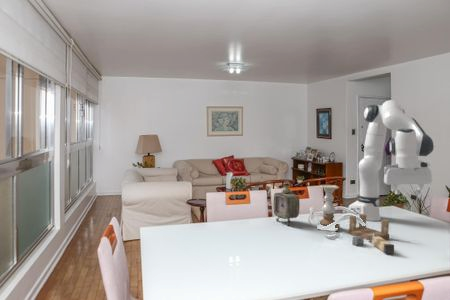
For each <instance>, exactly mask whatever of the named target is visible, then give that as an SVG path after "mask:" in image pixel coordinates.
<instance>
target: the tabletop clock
mask: <svg viewBox="0 0 450 300" xmlns="http://www.w3.org/2000/svg"><path fill="white" fill-rule="evenodd" d="M285 183H288V184H289V186H288V185H285ZM282 185H283V187H284V188H283V189H282V191H281V192H274V195H273V213H274V215H275V216H276V217H277V218H276V219H275V221H277V222H279V221H280V220H279V219H283V220H287V223H286V226H290V223H291V219H297V217H298V216H299V214H300V196H298V195H296V193H293V192H292V191H291V189H290V188H291V183H290V181H288V180H284V181H283V182H282Z"/></svg>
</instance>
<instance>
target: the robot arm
mask: <svg viewBox="0 0 450 300" xmlns="http://www.w3.org/2000/svg"><path fill="white" fill-rule="evenodd" d="M363 118H364V121H365V122H367V123H368V126H367V129H366V134H365V140H364V150H363V151H364V152H363V158H361V160H360V161H359V162H358V175H359V194H358V195H356V196H355V198H356V201H354V202H352V203H350V204H349V205H348V207H347V210H348V209H351V210H353V211H354V212H355V213H356V214H357V215H358V216H359V215H360V214H365V215H366V222H367V221H369V222H377V221H382V217H381V214H380V200H381V199H380V179H379V171H380V170H381V168H382V167H383V166H382V165H383V159H384V158H383V157H384V148H385V142H386V138H387V137H386V136H387V130H388V129H389V130H391V131H395V136H394V137H392V138H391V139H390V140H388V145H389V153H390V154H391V155H393V156H395V164H387V165H385V166H384V168H383V173H384V174H383V175H384V177H383V183H384V184H385V185H388V186H392V188H393V191H394V194H395V195H400V194H401V190H398V188H397V187H398V185H417V186H418V187H417V189H415V194H419V195H420V194H422V190H423V188H424V184H431V183H432V181H433V174H432V170H431V168H430V166H431V165H430V163H429V162H427V161H424V160H419V157H427V156H429V155H430V154H431V153H432V152H433V151H434V141H433V139H432V137H430V135H428V134H427V133H426V132H425V130H424V129H423V127H422V126H421V125H420V123H418V121H417V120H416V119H415V118H413V117H412V116H409V115H408V114H406V112H405V109H404V108H402V106H401V104H400V103H399V102H398V101H397V100H394V99H389V100H385V102H383V103H382V105H381V104H380V105H379V104H378V105H377V104H370V105H367V106H366V107H365V110H364V112H363ZM418 156H419V157H418Z"/></svg>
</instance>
